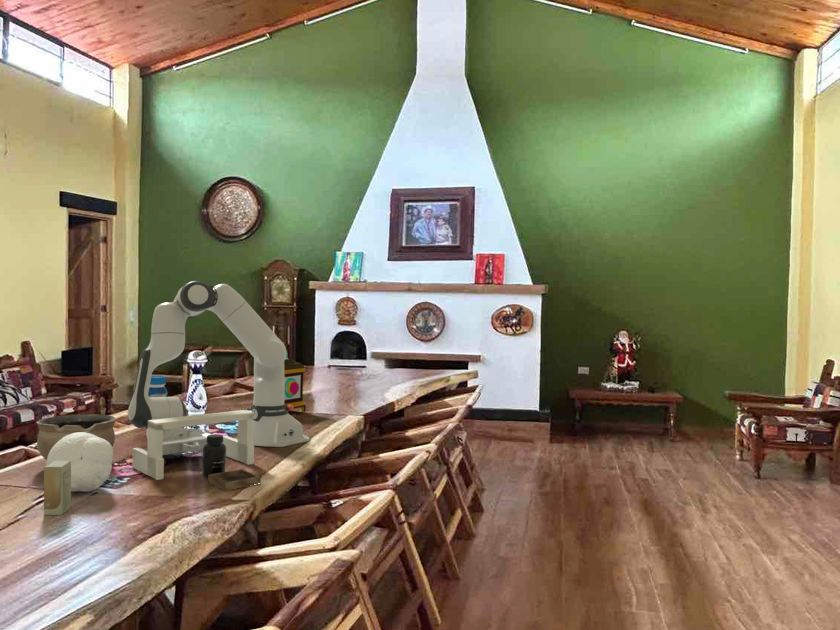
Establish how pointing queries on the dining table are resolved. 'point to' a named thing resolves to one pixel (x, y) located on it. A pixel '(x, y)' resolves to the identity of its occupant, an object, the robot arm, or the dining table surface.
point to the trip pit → (233, 479)
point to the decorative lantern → (293, 383)
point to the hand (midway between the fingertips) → (195, 448)
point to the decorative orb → (84, 459)
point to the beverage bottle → (157, 386)
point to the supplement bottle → (214, 455)
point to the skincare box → (57, 487)
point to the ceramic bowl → (73, 429)
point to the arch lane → (235, 449)
